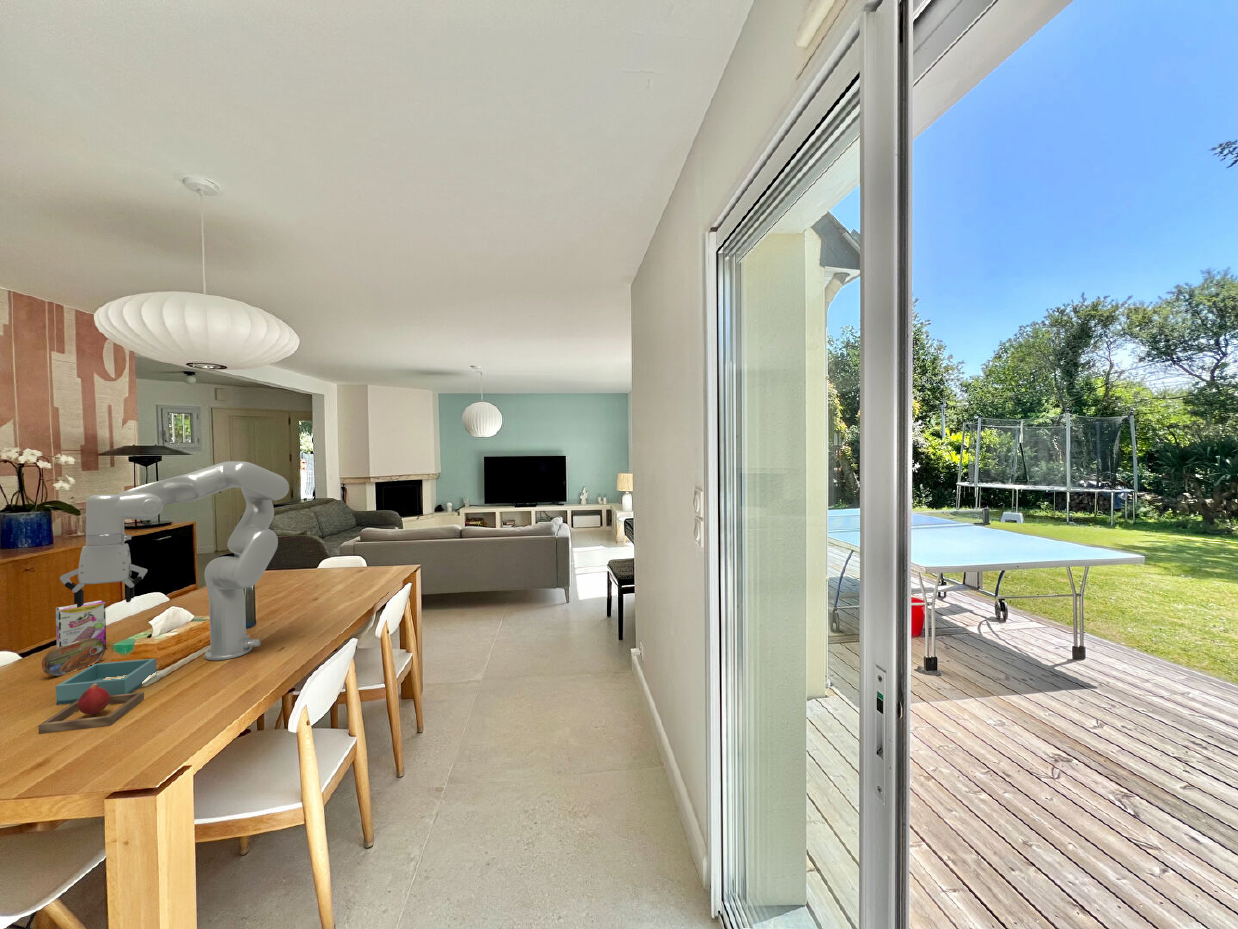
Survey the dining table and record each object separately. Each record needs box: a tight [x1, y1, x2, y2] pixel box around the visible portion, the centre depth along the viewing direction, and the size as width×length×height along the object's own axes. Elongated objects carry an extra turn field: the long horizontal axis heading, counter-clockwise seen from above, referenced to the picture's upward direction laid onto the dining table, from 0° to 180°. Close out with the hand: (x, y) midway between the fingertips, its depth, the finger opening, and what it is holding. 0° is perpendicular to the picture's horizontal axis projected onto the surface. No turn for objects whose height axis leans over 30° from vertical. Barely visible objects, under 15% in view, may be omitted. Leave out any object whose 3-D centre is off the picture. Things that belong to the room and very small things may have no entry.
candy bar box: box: [55, 600, 107, 651], centre depth 177 cm, size 11×5×16 cm, turn 145°
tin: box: [41, 638, 106, 677], centre depth 165 cm, size 15×3×8 cm, turn 168°
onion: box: [77, 684, 110, 717], centre depth 137 cm, size 6×6×8 cm
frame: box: [37, 691, 145, 734], centre depth 137 cm, size 14×14×2 cm
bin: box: [55, 657, 158, 706], centre depth 152 cm, size 15×15×5 cm
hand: (104, 603), depth 147 cm, fingers open, 9 cm apart
